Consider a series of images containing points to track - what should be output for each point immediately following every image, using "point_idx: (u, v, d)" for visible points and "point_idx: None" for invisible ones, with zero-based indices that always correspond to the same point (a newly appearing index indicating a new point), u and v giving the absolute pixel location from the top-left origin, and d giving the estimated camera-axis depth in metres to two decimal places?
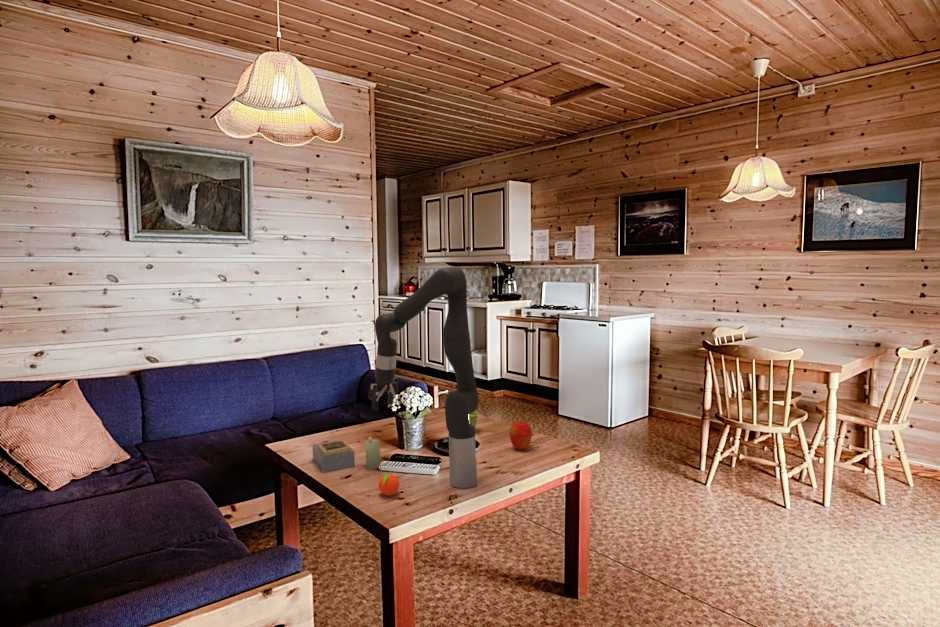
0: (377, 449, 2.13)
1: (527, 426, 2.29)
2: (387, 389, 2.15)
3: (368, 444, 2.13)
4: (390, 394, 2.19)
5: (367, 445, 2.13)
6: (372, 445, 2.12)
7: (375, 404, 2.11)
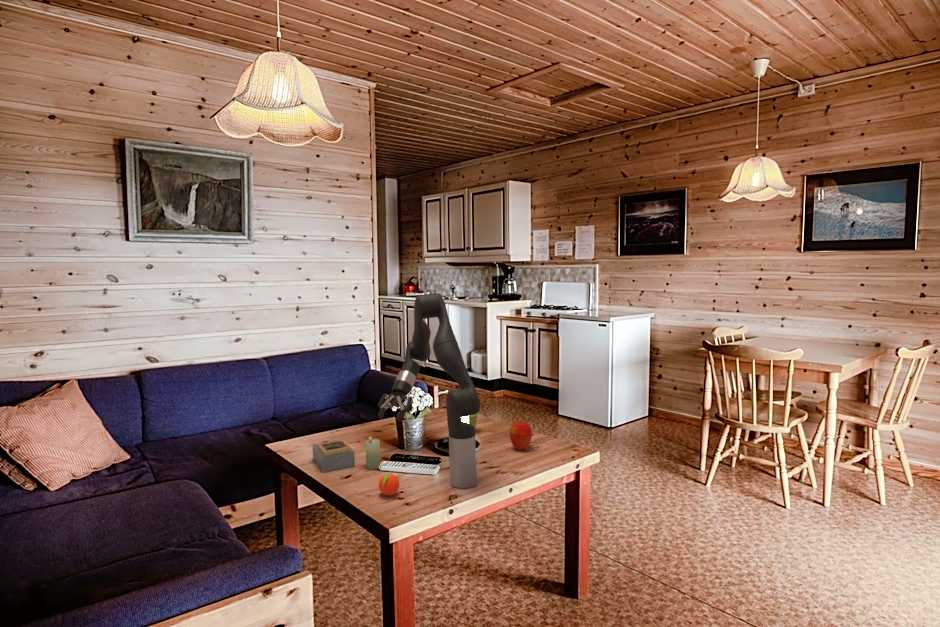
0: (377, 449, 2.13)
1: (527, 426, 2.29)
2: (396, 402, 2.27)
3: (368, 444, 2.12)
4: None
5: (367, 445, 2.13)
6: (372, 445, 2.12)
7: (380, 411, 2.27)
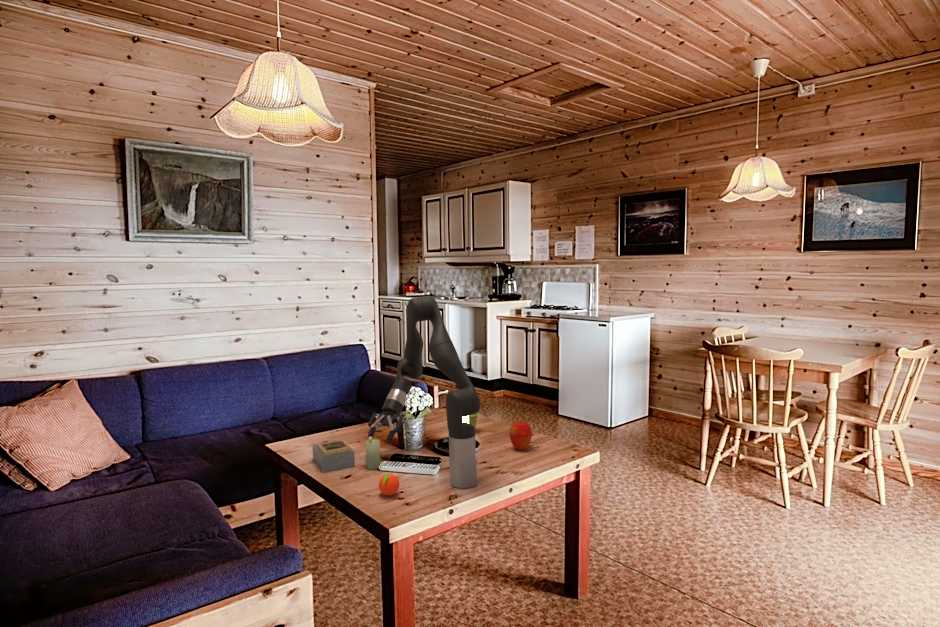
0: (377, 448, 2.13)
1: (527, 426, 2.29)
2: (386, 421, 2.21)
3: (368, 444, 2.13)
4: None
5: (367, 445, 2.13)
6: (372, 445, 2.12)
7: (370, 431, 2.22)
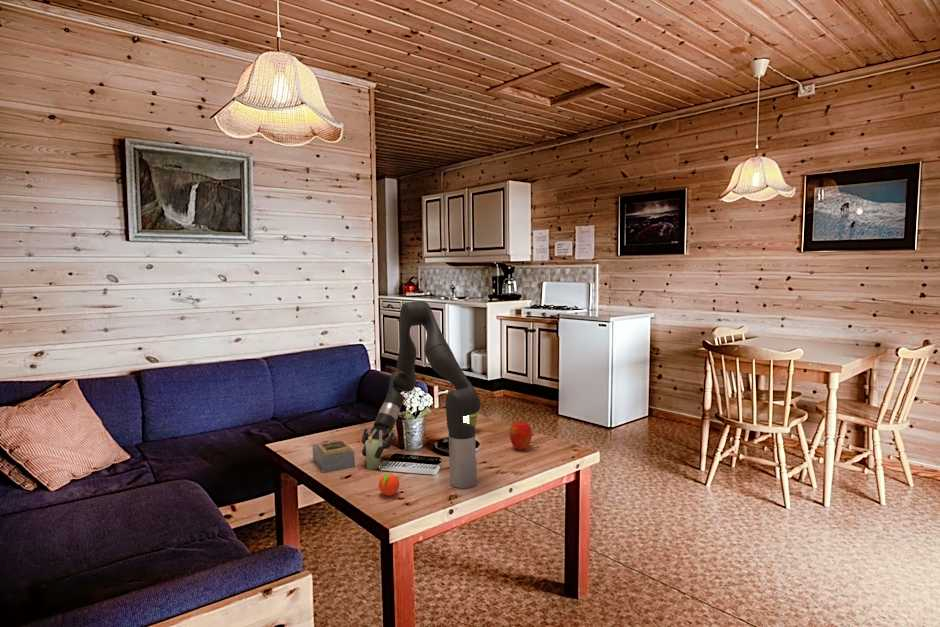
0: (377, 448, 2.13)
1: (527, 426, 2.29)
2: (377, 435, 2.17)
3: (368, 444, 2.13)
4: None
5: (367, 445, 2.13)
6: (372, 445, 2.12)
7: (364, 448, 2.16)
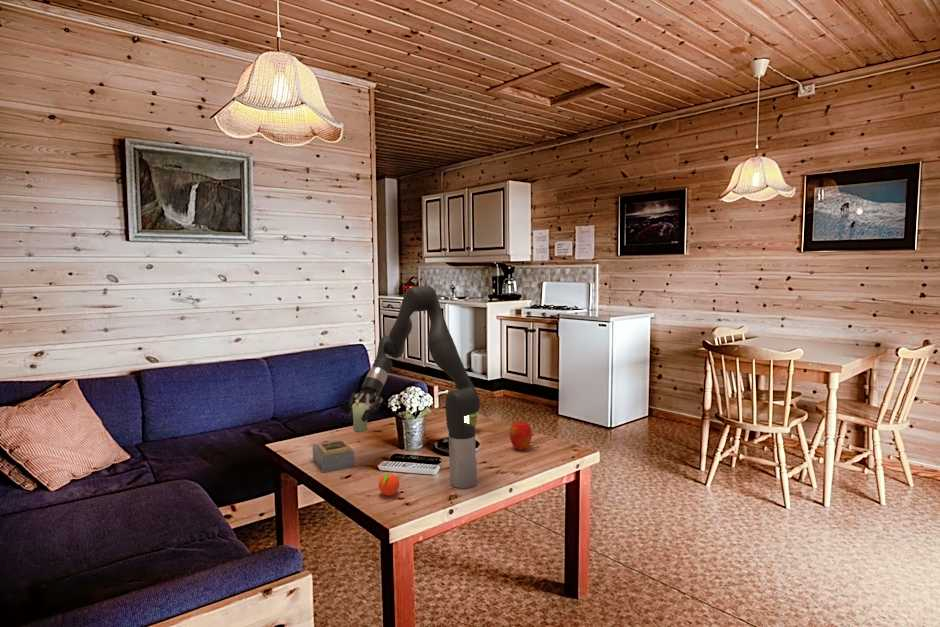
0: None
1: (527, 426, 2.29)
2: (364, 399, 2.17)
3: (355, 407, 2.13)
4: None
5: (354, 408, 2.13)
6: (359, 408, 2.12)
7: (351, 411, 2.16)
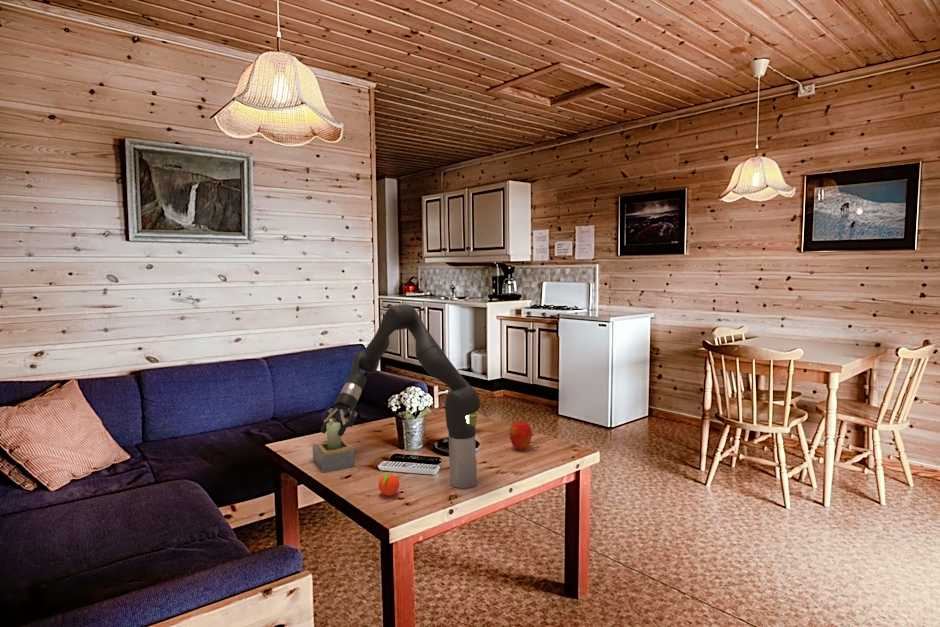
0: None
1: (527, 426, 2.29)
2: (339, 415, 2.19)
3: (329, 426, 2.15)
4: None
5: (328, 427, 2.15)
6: (332, 427, 2.15)
7: (323, 425, 2.19)
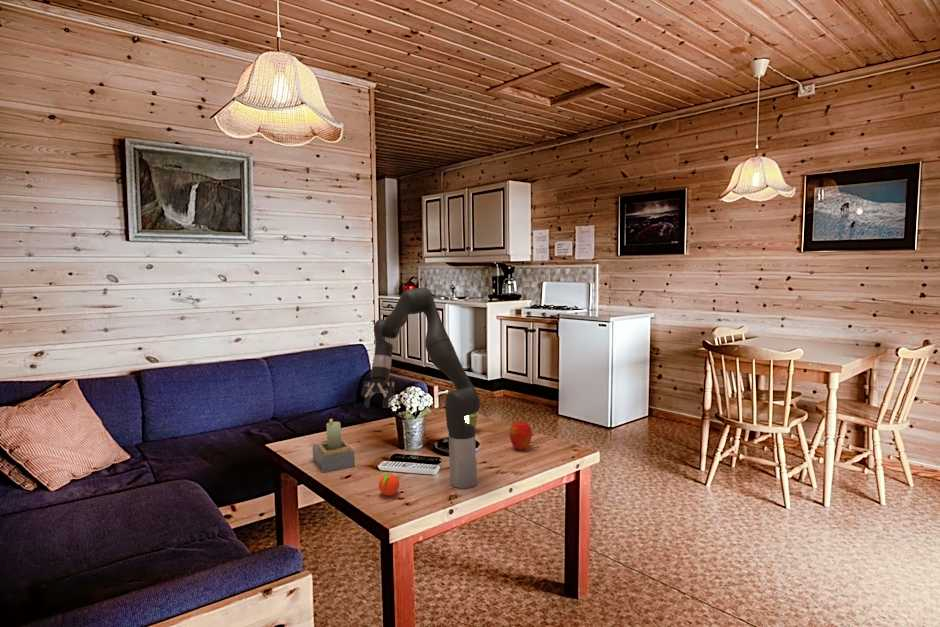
0: (338, 431, 2.16)
1: (527, 426, 2.29)
2: (378, 389, 2.28)
3: (329, 426, 2.15)
4: None
5: (328, 427, 2.15)
6: (333, 427, 2.15)
7: (365, 400, 2.29)
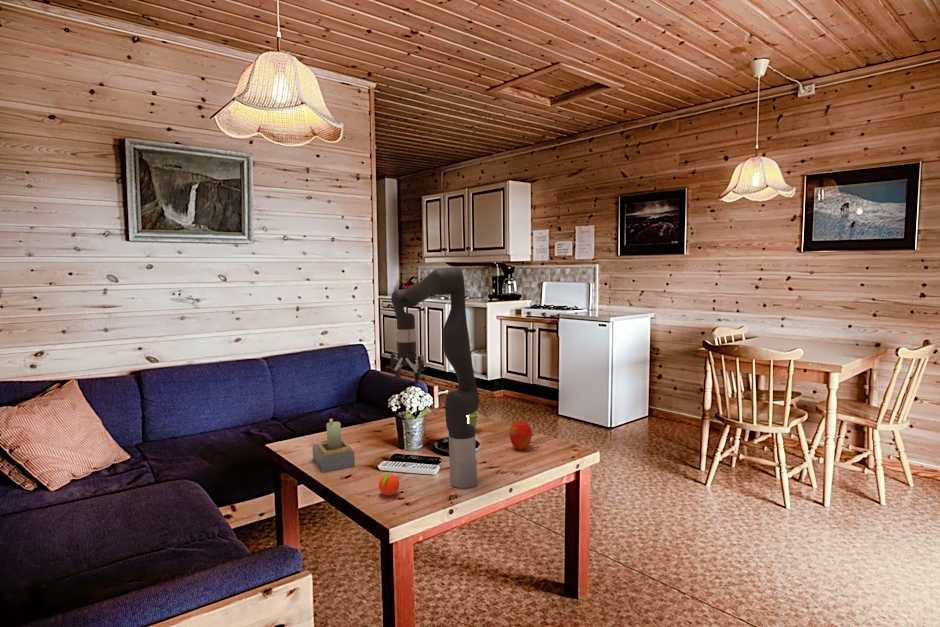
0: (338, 431, 2.16)
1: (527, 426, 2.29)
2: (407, 363, 2.23)
3: (329, 426, 2.15)
4: None
5: (328, 427, 2.15)
6: (333, 427, 2.15)
7: (395, 373, 2.26)
